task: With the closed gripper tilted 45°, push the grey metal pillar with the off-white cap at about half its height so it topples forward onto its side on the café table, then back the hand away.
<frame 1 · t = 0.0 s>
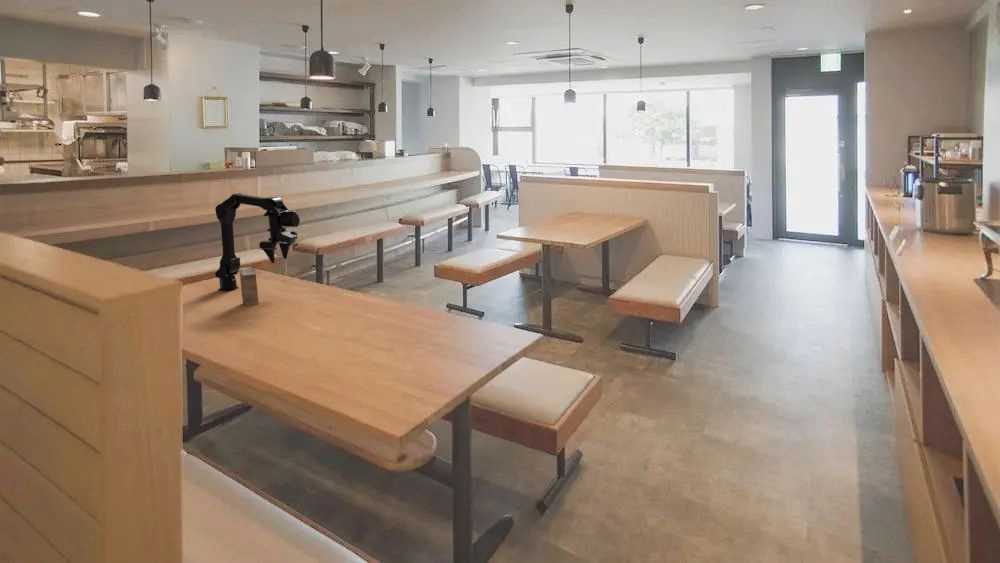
hand: (279, 260, 278), 14 cm above the table, tool pointing down, fingers open, 9 cm apart
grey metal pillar: (250, 303, 264), on the table
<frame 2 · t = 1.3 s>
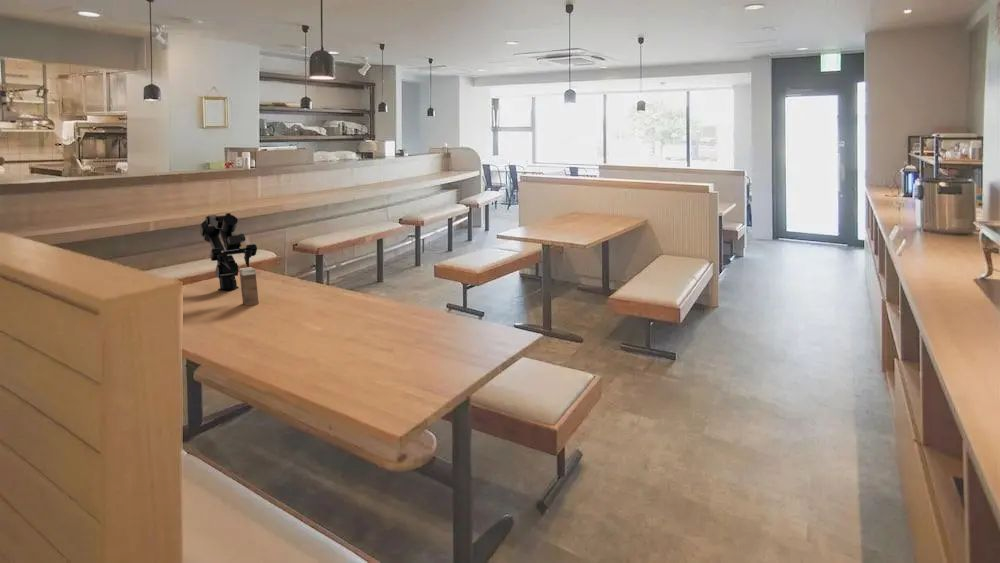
hand: (239, 267, 270), 13 cm above the table, tool tilted 45°, fingers open, 7 cm apart
nothing on the table moved.
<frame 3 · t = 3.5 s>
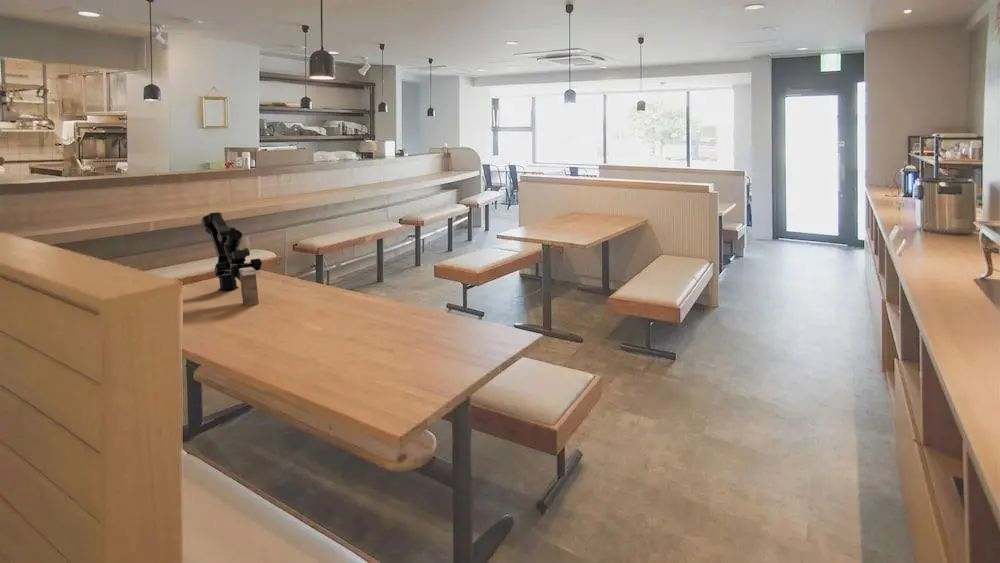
hand: (244, 282, 267), 8 cm above the table, tool tilted 45°, fingers closed
nothing on the table moved.
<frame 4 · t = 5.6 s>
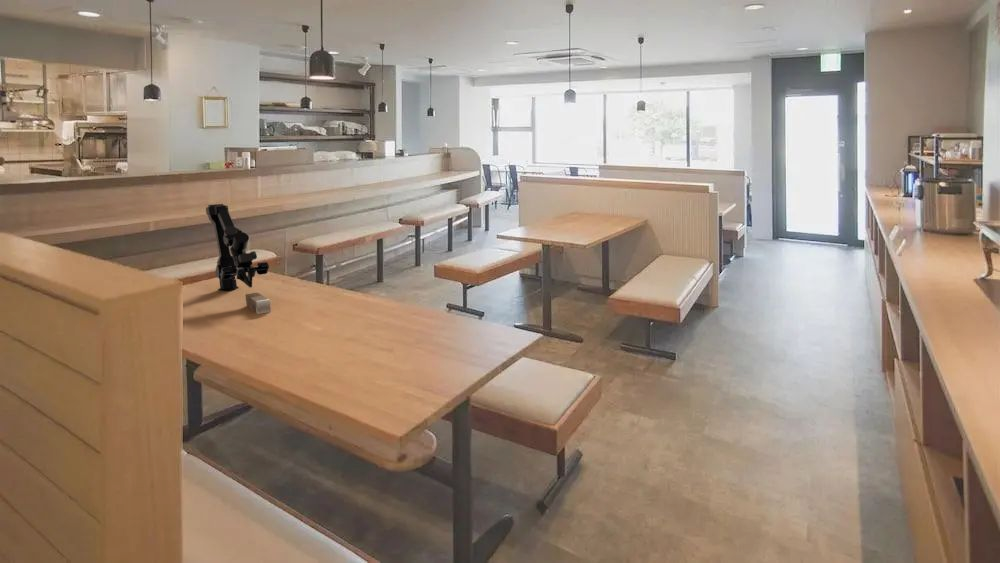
hand: (250, 286, 260), 8 cm above the table, tool tilted 45°, fingers closed
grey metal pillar: (252, 299, 261), point 2 cm above the table, tilted 90°
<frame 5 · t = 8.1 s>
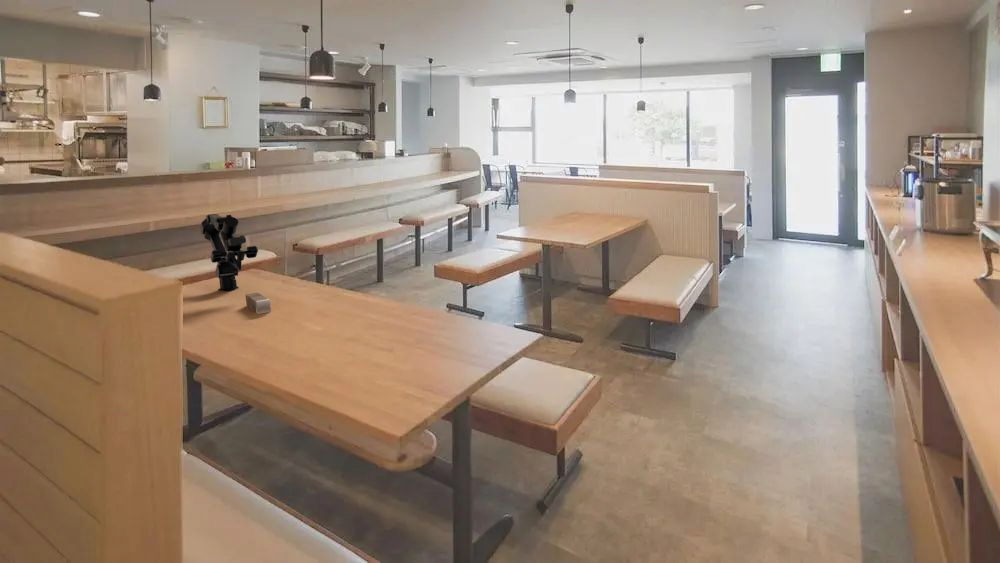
hand: (240, 269, 269), 13 cm above the table, tool tilted 45°, fingers closed
nothing on the table moved.
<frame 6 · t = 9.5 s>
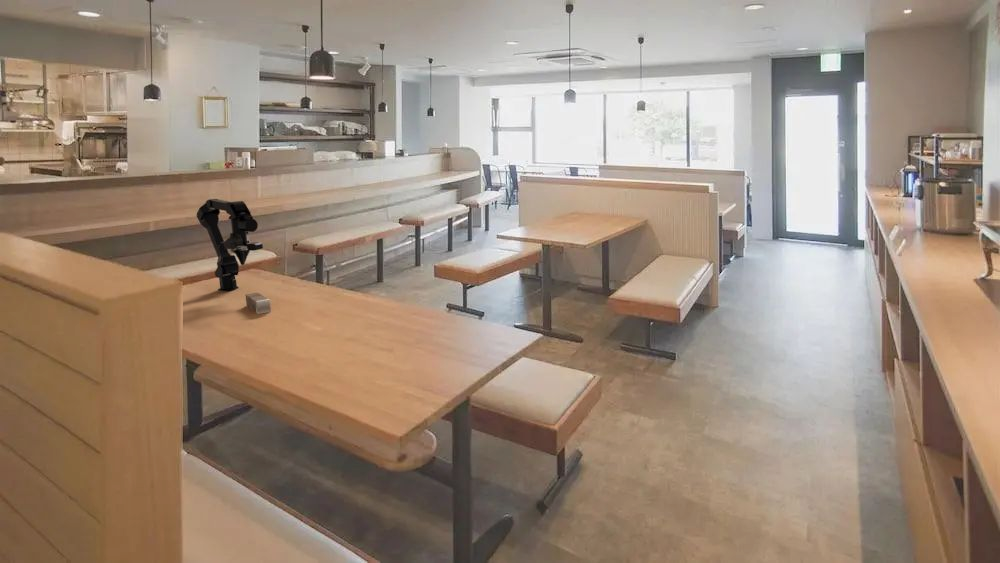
hand: (242, 264, 278), 13 cm above the table, tool pointing down, fingers closed
nothing on the table moved.
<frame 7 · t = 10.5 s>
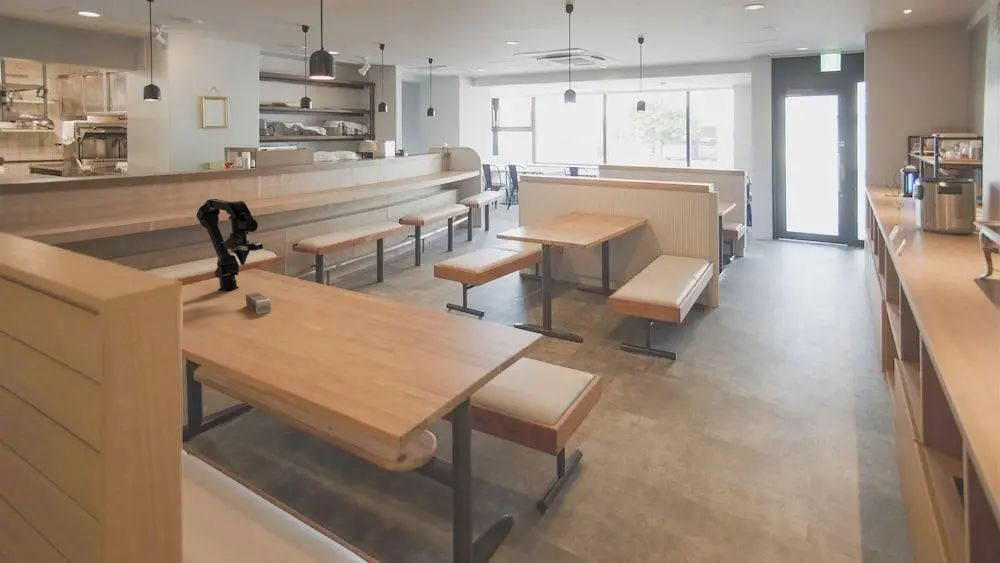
hand: (242, 264, 278), 13 cm above the table, tool pointing down, fingers closed
nothing on the table moved.
at the end: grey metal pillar tilted 90°; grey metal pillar inside the target area (2.0 cm from its centre), point 2.4 cm above the table; the gripper is holding nothing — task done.
